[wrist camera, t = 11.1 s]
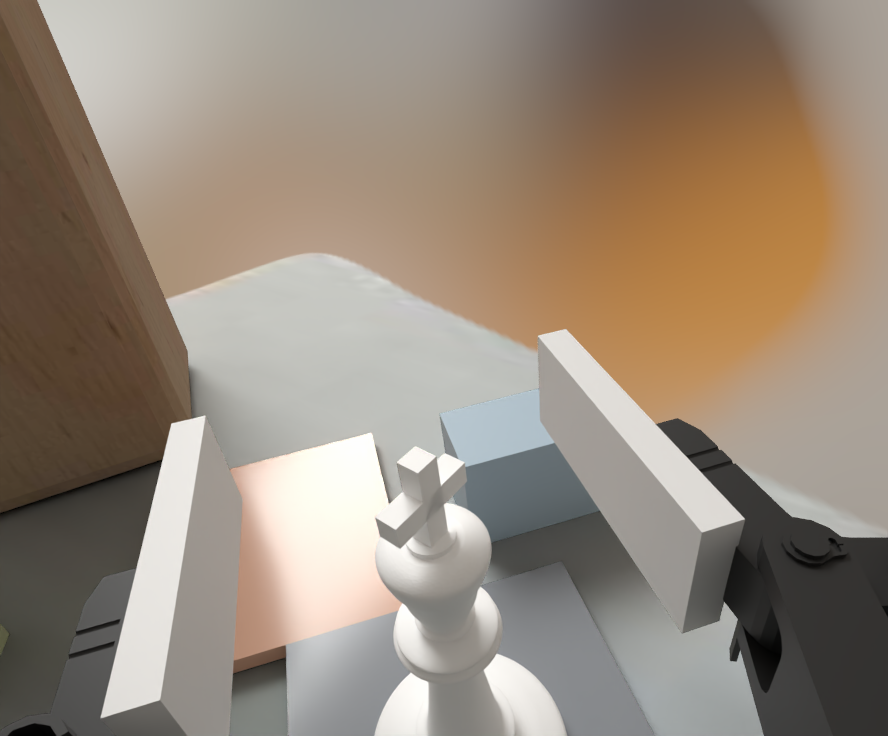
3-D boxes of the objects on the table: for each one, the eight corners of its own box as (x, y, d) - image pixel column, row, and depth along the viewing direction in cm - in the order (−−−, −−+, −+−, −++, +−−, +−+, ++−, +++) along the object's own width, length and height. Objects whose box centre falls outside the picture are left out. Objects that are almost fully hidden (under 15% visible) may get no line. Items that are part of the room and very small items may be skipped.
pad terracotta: (121, 707, 17) (112, 697, 17) (167, 496, 24) (161, 486, 24) (416, 616, 18) (413, 605, 18) (373, 443, 26) (371, 432, 25)
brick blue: (473, 549, 20) (462, 467, 18) (451, 492, 23) (439, 413, 21) (627, 504, 21) (634, 421, 19) (589, 453, 24) (592, 374, 21)
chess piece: (608, 733, 14) (639, 424, 9) (496, 953, 11) (438, 692, 6) (454, 628, 17) (405, 343, 12) (331, 780, 14) (187, 494, 9)
